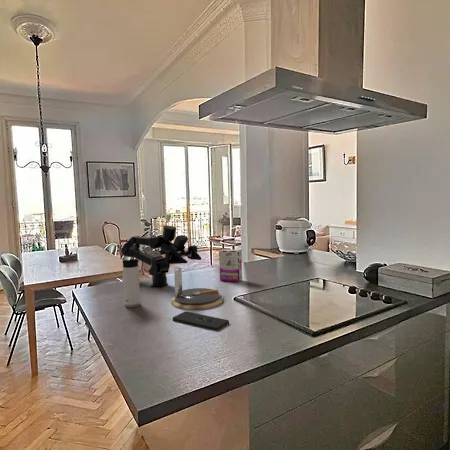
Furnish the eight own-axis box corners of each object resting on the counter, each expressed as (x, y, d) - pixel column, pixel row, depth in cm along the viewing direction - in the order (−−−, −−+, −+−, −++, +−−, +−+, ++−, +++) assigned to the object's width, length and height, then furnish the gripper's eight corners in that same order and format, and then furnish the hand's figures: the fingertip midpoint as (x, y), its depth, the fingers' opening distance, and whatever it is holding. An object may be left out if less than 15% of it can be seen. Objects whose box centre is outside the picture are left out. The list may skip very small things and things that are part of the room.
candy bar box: (242, 280, 184) (242, 249, 183) (239, 282, 180) (238, 251, 178) (223, 278, 189) (222, 248, 187) (219, 280, 184) (218, 250, 182)
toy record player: (210, 289, 163) (209, 260, 162) (227, 300, 146) (226, 268, 144) (169, 295, 155) (168, 265, 153) (182, 307, 138) (181, 273, 136)
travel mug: (126, 308, 142) (124, 260, 141) (123, 304, 148) (121, 257, 146) (142, 306, 145) (139, 258, 143) (138, 301, 151) (136, 256, 149)
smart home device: (216, 327, 117) (171, 317, 128) (216, 332, 117) (171, 322, 128) (229, 319, 124) (185, 310, 135) (229, 324, 124) (185, 315, 135)
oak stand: (160, 305, 145) (160, 302, 145) (188, 291, 165) (188, 288, 165) (207, 312, 136) (207, 309, 135) (231, 296, 156) (231, 293, 155)
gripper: (158, 235, 160) (182, 246, 151) (187, 231, 174) (210, 241, 165) (155, 258, 163) (178, 270, 154) (184, 252, 177) (206, 263, 168)
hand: (194, 260), depth 160 cm, fingers open, 9 cm apart
